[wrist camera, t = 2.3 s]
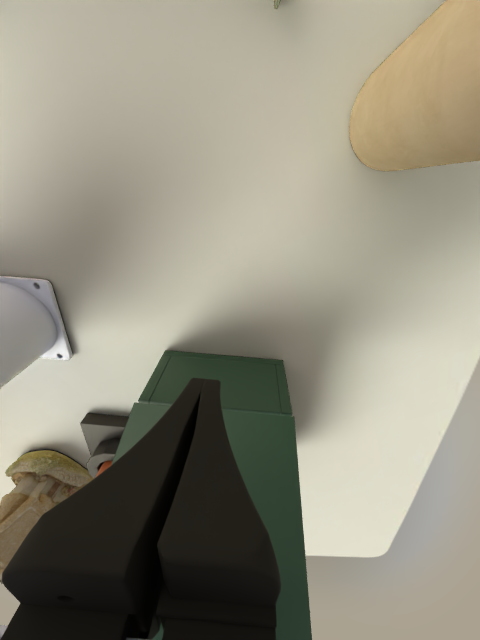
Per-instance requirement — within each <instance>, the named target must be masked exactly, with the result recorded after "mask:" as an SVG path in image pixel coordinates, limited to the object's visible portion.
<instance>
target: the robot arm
mask: <svg viewBox="0 0 480 640" xmlns="http://www.w3.org/2000/svg"><path fill="white" fill-rule="evenodd" d="M37 284H39V286H40V287H39V286H38V285H37ZM72 357H73V355H72V351H71V348H70V345H69V341H68V338H67V334H66V331H65V328H64V324H63V321H62V318H61V314H60V311H59V308H58V304H57V301H56V298H55V294H54V291H53V288H52V285H51V283H50V282H49V281H47V280H45V279H34V278H22V277H10V276H0V388H1V387H3V386H4V385H5V384H6V383H8V382H9V381H10V380H11V379H13V378H14V377H15V376H16V375H18V374H19V373H20V372H21V371H23V370H24V369H25V368H27V367H28V366H29V365H30V364H32V363H33V362H34V361H35V360H37V359H38V358H45V359H57V360H70V359H71V358H72ZM220 389H221V382H220V381H219V380H214V379H202V378H191V379H190V381H189V382H188V384H187V385H186V387H185V388H184V390H183V391H182V392H181V394H180V395H179V396H178V398H177V399H176V400H175V402H174V403H173V404H172V405H171V406H170V408H169V409H168V410H167V411H166V413H165V414H164V415H163V416H162V417H161V418H160V419H159V420H158V422H157V423H156V424H155V425H154V426H153V427H152V428H151V429H150V430H149V431H148V432H147V433H146V434H145V435H144V436H143V437H142V438H141V439H140V440H139V441H138V442H137V443H136V444H135V445H134V446H133V447H132V448H131V449H129V450H128V451H127V452H126V453H125V454H124V455H123V456H122V457H120V458H119V459H118V460H117V461H116V462H115V463H113V464H112V465H111V466H110V467H108V468H107V469H106V470H105V471H103V472H102V473H101V474H99V475H98V476H97V477H95V478H94V479H93V480H92V481H90V482H89V483H88V484H86V485H85V486H84V487H82V488H81V489H79V490H78V491H77V492H75V493H74V494H72V495H71V496H69V497H68V498H66V499H65V500H63V501H62V502H60V503H59V504H58V505H56V506H55V507H53V508H52V509H50V510H49V511H47V512H46V513H44V514H43V515H42V516H41V518H40V519H39V520H38V522H37V523H36V524H35V525H34V527H33V528H32V529H31V530H30V532H29V533H28V535H27V536H26V537H25V539H24V541H23V542H22V544H21V545H20V547H19V548H18V550H17V551H16V553H15V554H14V556H13V557H12V559H11V560H10V562H9V564H8V565H7V567H6V568H5V570H4V571H3V573H2V583H3V584H4V586H5V587H6V588H7V589H8V590H9V591H10V592H11V593H12V594H13V595H14V596H15V597H16V599H17V600H19V602H20V605H19V607H18V609H17V611H16V613H15V614H14V616H13V618H12V620H11V621H10V623H9V625H8V626H5V625H0V640H152V639H153V638H154V637H155V636H156V634H157V633H158V632H159V630H160V625H161V623H162V627H163V631H164V632H163V637H162V640H276V630H275V628H276V627H277V619H276V602H277V599H278V597H279V594H280V591H281V579H280V573H279V568H278V564H277V560H276V556H275V553H274V549H273V546H272V543H271V540H270V536H269V533H268V531H267V529H266V527H265V525H264V523H263V521H262V519H261V517H260V515H259V513H258V511H257V509H256V507H255V505H254V503H253V501H252V499H251V497H250V495H249V493H248V490H247V488H246V485H245V483H244V481H243V478H242V476H241V474H240V471H239V469H238V466H237V463H236V460H235V458H234V455H233V452H232V449H231V446H230V442H229V439H228V435H227V432H226V428H225V423H224V419H223V413H222V408H221V400H220Z"/></svg>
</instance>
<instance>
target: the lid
mask: <svg viewBox="0 0 480 640" xmlns="http://www.w3.org/2000/svg"><path fill="white" fill-rule="evenodd" d="M169 408H170V406H168V405H157V404H145V403H134V405H133V408H132V410H131V413H130V416H129V418H128V421H127V424H126V427H125V429H124V432H123V435H122V437H121V440H120V443H119V445H118V448H117V451H116V453H115V456H114V459H113V462H112V464H113V463H115V462H116V461H117V460H118V459H119V458H120V457H122V456H123V455H124V454H125V453H126V452H127V451H128V450H129V449H131V448H132V447H133V446H134V445H135V444H136V443H137V442H138V441H139V440H140V439H141V438H142V437H143V436H144V435H145V434H146V433H147V432H148V431H149V430H150V429H151V428H152V427H153V426H154V425H155V424H156V423H157V422H158V420H159V419H160V418H161V417H162V416H163V415H164V414H165V413H166V411H167V410H168V409H169ZM222 413H223V419H224V423H225V428H226V432H227V435H228V439H229V442H230V446H231V449H232V452H233V455H234V458H235V460H236V463H237V466H238V469H239V471H240V474H241V476H242V478H243V481H244V483H245V485H246V488H247V490H248V493H249V495H250V497H251V499H252V501H253V503H254V505H255V507H256V509H257V511H258V513H259V515H260V517H261V519H262V521H263V523H264V525H265V527H266V529H267V531H268V533H269V536H270V540H271V543H272V546H273V549H274V553H275V556H276V560H277V564H278V568H279V573H280V579H281V591H280V594H279V597H278V599H277V602H276V619H277V627H276V628H275V630H276V640H312V634H311V623H310V622H311V621H310V610H309V597H308V584H307V571H306V559H305V546H304V534H303V521H302V509H301V496H300V483H299V471H298V458H297V446H296V433H295V421H294V416H282V415H271V414H259V413H248V412H237V411H225V410H222ZM112 464H111V465H112ZM163 632H164V631H163V627H162V623H161V625H160V630H159V632H158V633H157V634H156V636H155V637H154V638H153V639H152V640H162V637H163Z"/></svg>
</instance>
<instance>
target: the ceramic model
mask: <svg viewBox="0 0 480 640" xmlns="http://www.w3.org/2000/svg"><path fill="white" fill-rule="evenodd" d="M5 473H6V476H8V477H9V476H12V480H13V482H14V483H15V485H16V487H15V488H14V489H13V490H12V491H11V492H10V493H9V494H6V495H5V496H4V497H3V498H2V500H1V503H0V582H1V584H3V583H2V573H3V571H4V570H5V568H6V567H7V565H8V564H9V562H10V560H11V559H12V557H13V556H14V554H15V553H16V551H17V550H18V548H19V547H20V545H21V544H22V542H23V541H24V539H25V537H26V536H27V535H28V533H29V532H30V530H31V529H32V528H33V527H34V525H35V524H36V523H37V522H38V520H39V519H40V518H41V516H42V515H43V514H44V513H46V512H47V511H49V510H50V509H52V508H53V507H55V506H56V505H58V504H59V503H60V502H62V501H63V500H65V499H66V498H68V497H69V496H71V495H72V494H74V493H75V492H77V491H78V490H79V489H81V488H82V487H84V486H85V485H86V484H88V483H89V482H90V481H92V480H93V479H94V478H93V477H92V476H91V475H90V474H89V472H88V471H87V470H86V469H85V468H83V467H82V466H80V464H78V463H76V462H75V461H73V460H72V459H70V458H68V457H67V456H65V455H63V454H60V453H58V452H55V451H50V450H41V451H34V452H28V453H26V454H24V455H22V456H21V457H19V458H18V459H17V461H15V462H14V463H13V464H12V465H11V466H10V467H9V468H8V469H7V470H6V472H5Z"/></svg>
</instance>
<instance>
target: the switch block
mask: <svg viewBox="0 0 480 640" xmlns="http://www.w3.org/2000/svg"><path fill="white" fill-rule="evenodd" d="M128 418H129V417H124V416H113V415H102V414H90V413H87V415H86V416H85V417H84V419H83V420H82V422H81V423H80V424H81V427H82V430H83V433H84V436H85V439H86V442H87V445H88V448H89V451H90V454H91V458H90V459H89V461H88V463H87V464H86V466H87V469H88V472H89V474H90V475H91V476H92V477H93V478H95V477H96V475H97V473H98V471H99V470H100V468H101V466H102V464H103V463H104V462H105V461H113V459H114V456H115V453H116V451H117V448H118V445H119V443H120V440H121V437H122V435H123V432H124V429H125V427H126V424H127V421H128Z"/></svg>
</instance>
